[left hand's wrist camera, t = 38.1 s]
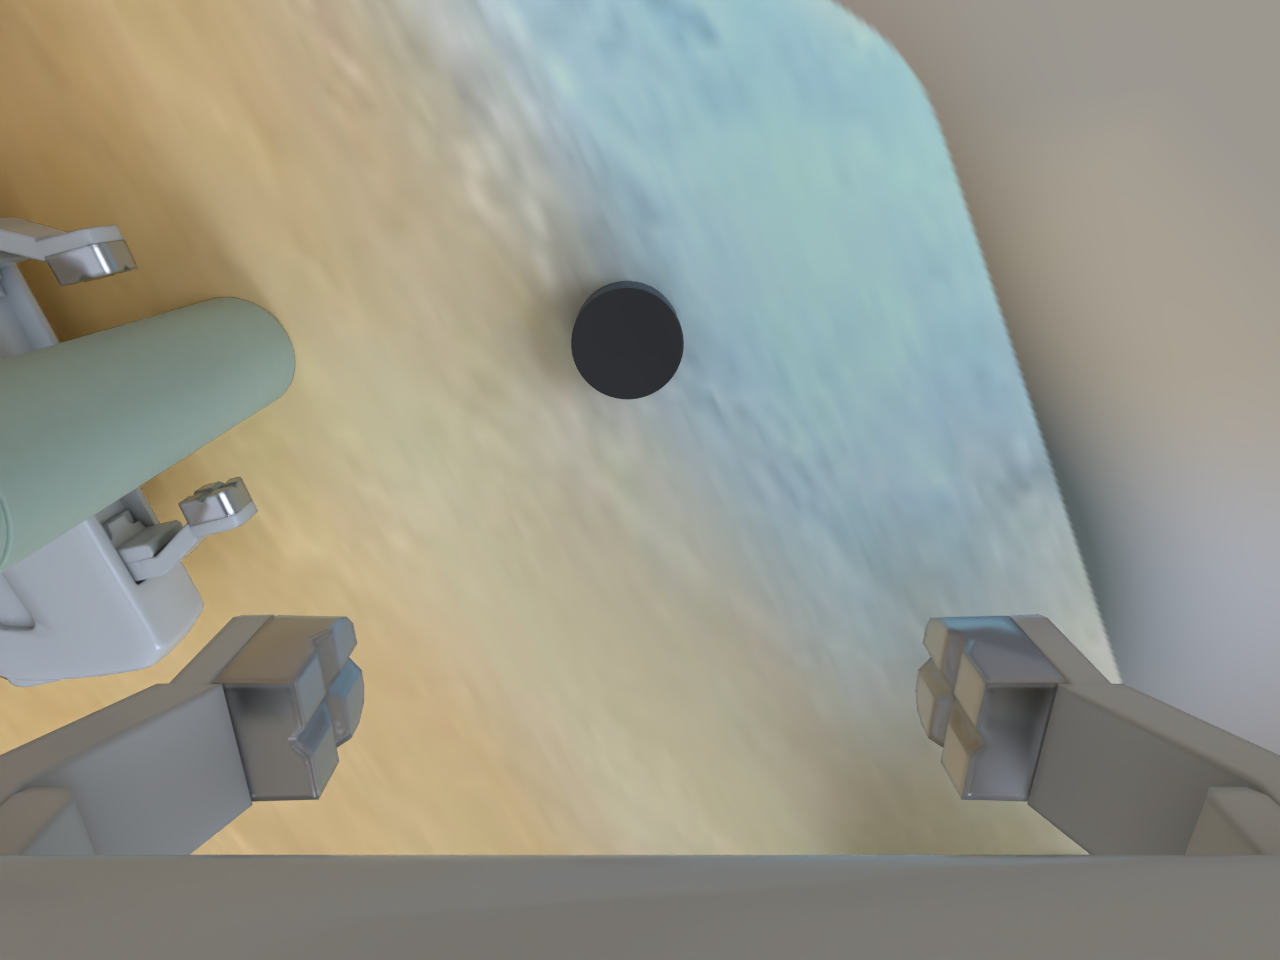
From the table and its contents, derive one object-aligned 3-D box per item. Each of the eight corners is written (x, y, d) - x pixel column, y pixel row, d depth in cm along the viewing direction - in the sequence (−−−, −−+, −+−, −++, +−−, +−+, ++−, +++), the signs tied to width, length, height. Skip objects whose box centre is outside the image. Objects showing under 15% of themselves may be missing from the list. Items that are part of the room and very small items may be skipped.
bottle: (159, 315, 30) (-795, 596, 10) (262, 282, 30) (-513, 504, 9) (216, 419, 32) (-496, 838, 12) (314, 389, 31) (-247, 769, 11)
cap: (554, 348, 31) (550, 359, 29) (612, 258, 30) (611, 264, 28) (640, 405, 32) (641, 419, 30) (700, 321, 31) (705, 330, 29)
